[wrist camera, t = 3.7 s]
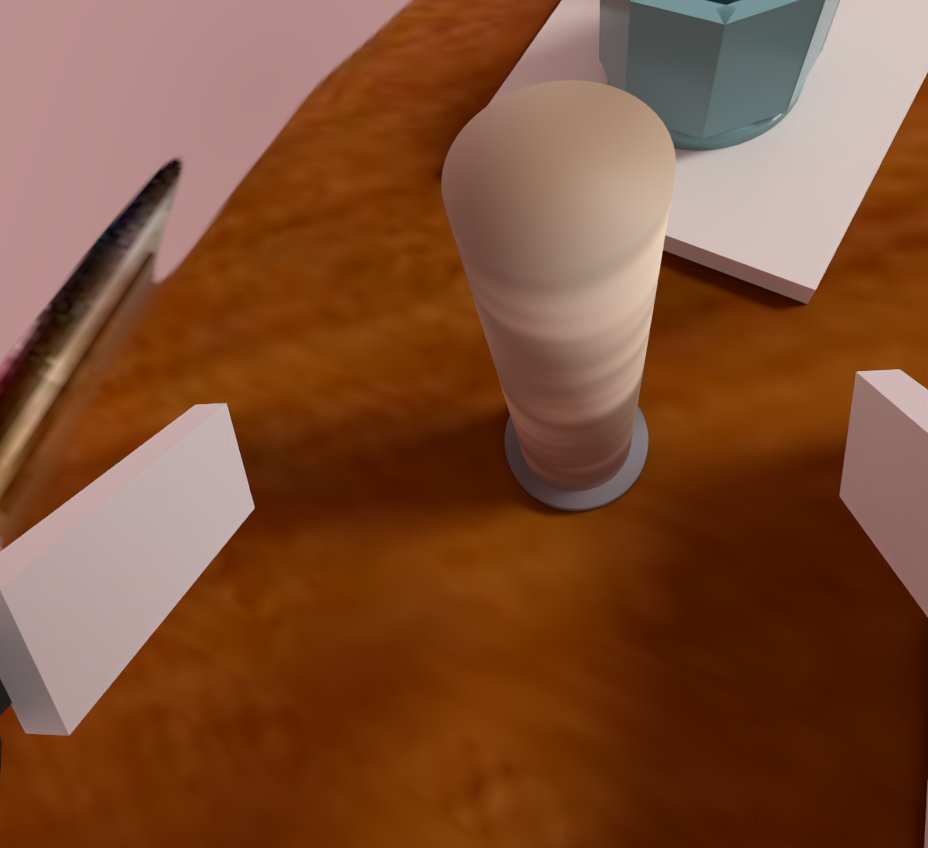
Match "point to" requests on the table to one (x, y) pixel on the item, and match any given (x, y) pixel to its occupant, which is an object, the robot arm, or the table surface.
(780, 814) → the table surface
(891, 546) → the robot arm
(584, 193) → the pillar candle on dish
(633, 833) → the table surface
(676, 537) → the table surface
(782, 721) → the table surface
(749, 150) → the octagonal cup on tile
